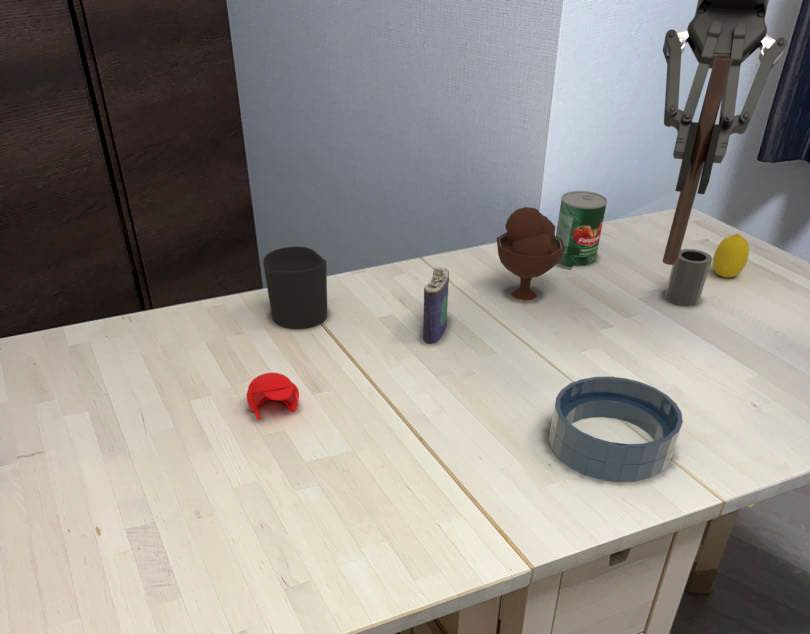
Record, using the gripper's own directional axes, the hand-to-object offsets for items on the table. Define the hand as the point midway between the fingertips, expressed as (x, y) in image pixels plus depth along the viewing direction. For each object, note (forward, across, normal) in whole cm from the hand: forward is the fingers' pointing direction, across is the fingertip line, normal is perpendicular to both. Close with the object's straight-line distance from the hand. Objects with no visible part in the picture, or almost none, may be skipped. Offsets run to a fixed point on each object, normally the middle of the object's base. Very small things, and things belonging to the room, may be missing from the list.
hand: (691, 186), depth 84 cm
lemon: (-12, -12, -52) cm, 54 cm away
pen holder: (+15, +53, -25) cm, 60 cm away
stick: (+4, 0, -10) cm, 11 cm away
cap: (+33, +46, -7) cm, 57 cm away
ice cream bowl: (+2, +20, -38) cm, 43 cm away
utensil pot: (-3, -5, -43) cm, 43 cm away
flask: (+14, +31, -27) cm, 43 cm away
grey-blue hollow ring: (+29, +2, -11) cm, 31 cm away
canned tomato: (-11, +14, -51) cm, 54 cm away
